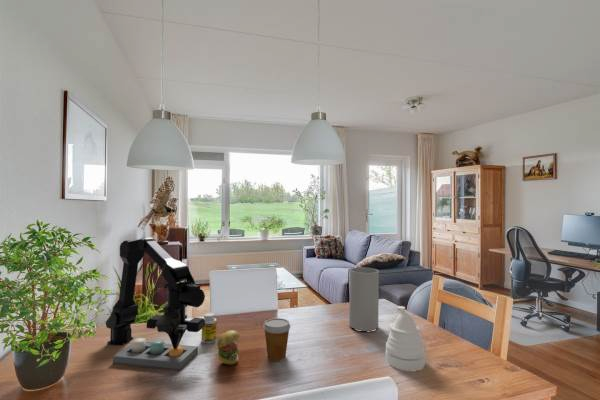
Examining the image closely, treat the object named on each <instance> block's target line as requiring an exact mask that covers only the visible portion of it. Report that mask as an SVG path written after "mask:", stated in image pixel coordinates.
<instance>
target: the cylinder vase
mask: <svg viewBox="0 0 600 400" xmlns="http://www.w3.org/2000/svg"><path fill="white" fill-rule="evenodd" d="M379 273H380V272H379V269H377V268H372V267H362V266H361V267H357V266H356V267H352V268H349V302H348V303H349V305H348V308H349V311H348V313H349V314H348V317H349V319H348V323H349V327H350V326H351V327H352V328H354V329H357V330H361V331H372V330H375V329H377V328H378V329H379V297H380V296H379V295H380V293H379V291H380V290H379V287H380V286H379V285H380V284H379V281H380V279H379V278H380V277H379V275H380V274H379ZM351 327H350V328H351ZM352 328H351V329H352ZM354 329H353V330H354ZM378 329H377V330H378Z"/></svg>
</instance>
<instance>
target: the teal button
mask: <svg viewBox="0 0 600 400" xmlns="http://www.w3.org/2000/svg"><path fill="white" fill-rule="evenodd" d="M149 342H150V354H153V355H156V354H160V353H162V352H164V343H165V340H164V339H155V340H152V341H149Z"/></svg>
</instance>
